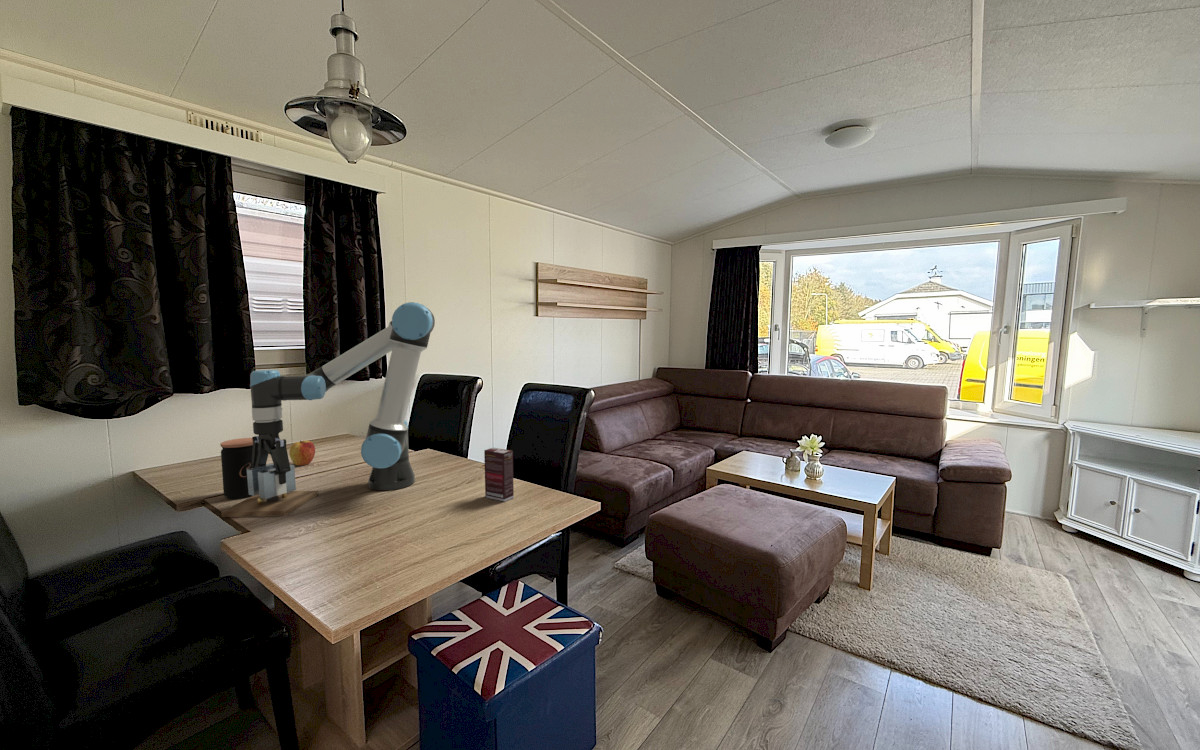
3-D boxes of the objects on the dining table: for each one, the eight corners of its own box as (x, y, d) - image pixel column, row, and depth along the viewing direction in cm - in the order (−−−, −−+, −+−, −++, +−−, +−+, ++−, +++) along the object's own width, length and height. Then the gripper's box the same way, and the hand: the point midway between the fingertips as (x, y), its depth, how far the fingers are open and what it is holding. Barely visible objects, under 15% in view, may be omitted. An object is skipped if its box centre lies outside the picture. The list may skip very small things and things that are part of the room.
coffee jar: (242, 500, 153) (239, 445, 151) (215, 498, 155) (211, 444, 153) (271, 490, 163) (268, 438, 162) (245, 488, 165) (242, 437, 164)
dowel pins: (285, 496, 153) (284, 490, 152) (287, 496, 152) (287, 490, 152) (257, 504, 145) (256, 498, 145) (259, 505, 145) (259, 498, 145)
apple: (306, 467, 190) (305, 443, 189) (284, 467, 190) (282, 443, 189) (320, 461, 199) (319, 438, 198) (299, 461, 199) (297, 437, 198)
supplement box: (514, 497, 156) (513, 450, 155) (504, 502, 152) (503, 453, 151) (494, 493, 160) (493, 447, 159) (484, 497, 156) (483, 450, 155)
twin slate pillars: (296, 490, 151) (294, 465, 150) (265, 499, 143) (263, 473, 142) (279, 485, 155) (277, 461, 154) (248, 494, 147) (246, 469, 146)
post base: (318, 495, 158) (316, 473, 158) (285, 515, 140) (283, 491, 140) (262, 495, 157) (260, 473, 157) (221, 516, 139) (219, 491, 139)
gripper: (301, 421, 145) (305, 493, 147) (260, 415, 155) (265, 483, 157) (275, 425, 138) (280, 500, 140) (234, 419, 148) (239, 489, 150)
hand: (272, 491), depth 149 cm, fingers closed on twin slate pillars, 9 cm apart
